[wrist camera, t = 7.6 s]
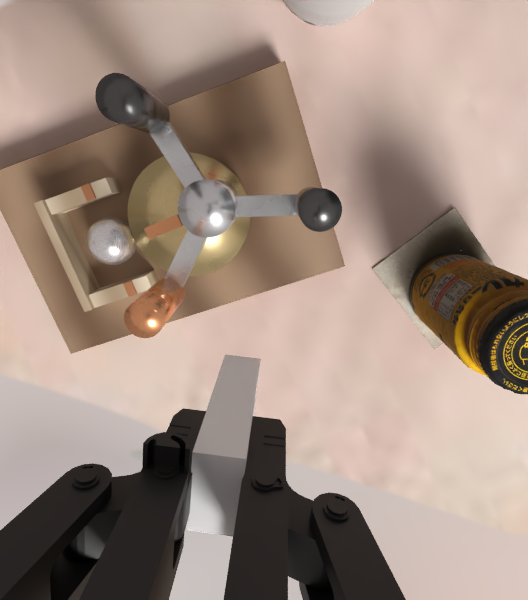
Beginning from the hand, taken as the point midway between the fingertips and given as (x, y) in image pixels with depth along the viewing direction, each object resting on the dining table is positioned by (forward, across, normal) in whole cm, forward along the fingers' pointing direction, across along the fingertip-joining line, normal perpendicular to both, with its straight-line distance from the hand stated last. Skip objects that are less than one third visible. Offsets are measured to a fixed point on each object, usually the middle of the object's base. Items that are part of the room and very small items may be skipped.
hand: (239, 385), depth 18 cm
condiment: (+16, -14, -2) cm, 22 cm away
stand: (+16, +7, -5) cm, 18 cm away
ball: (+13, +10, -3) cm, 17 cm away
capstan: (+14, +4, -7) cm, 16 cm away
